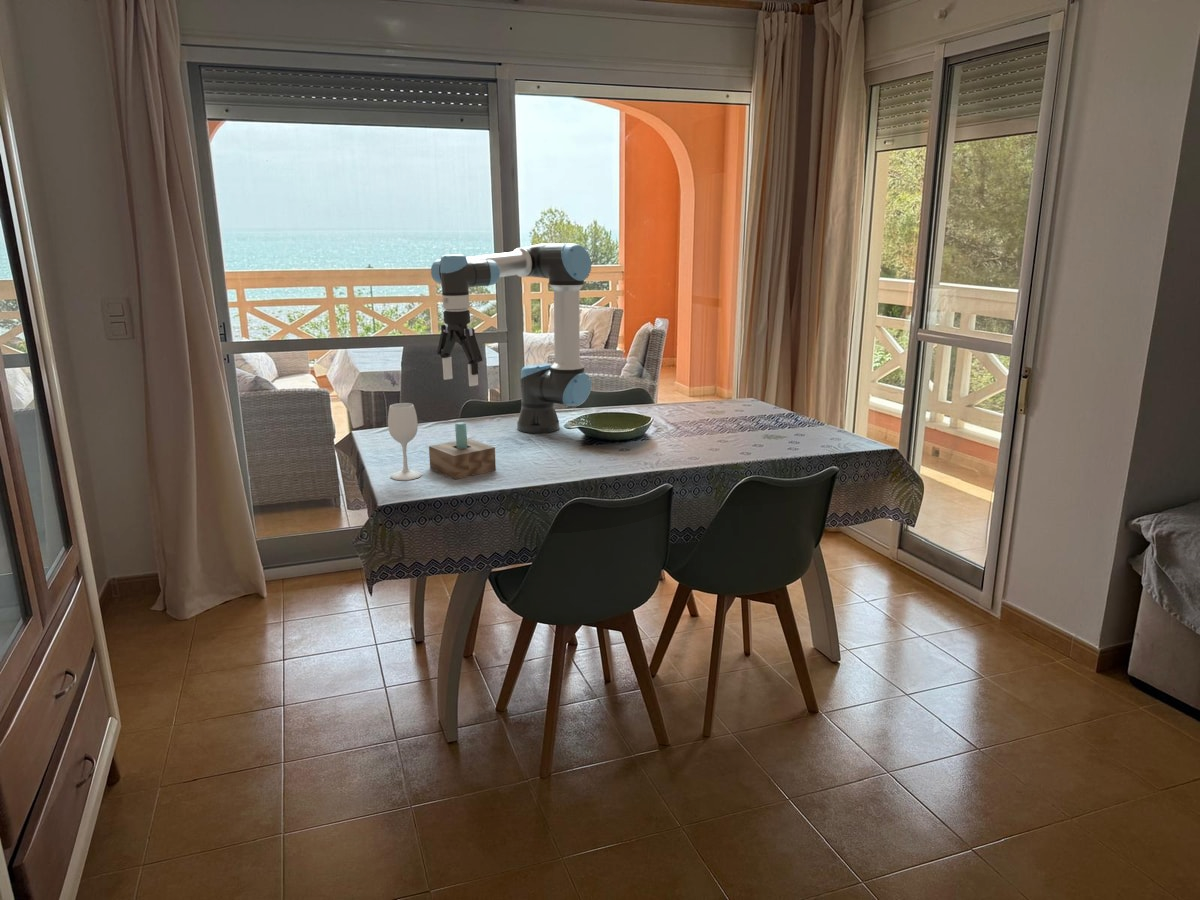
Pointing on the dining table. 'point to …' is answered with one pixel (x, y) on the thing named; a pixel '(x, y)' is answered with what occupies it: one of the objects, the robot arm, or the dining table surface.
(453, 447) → the socket block
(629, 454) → the dining table surface
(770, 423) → the dining table surface
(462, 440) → the dowel
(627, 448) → the dining table surface
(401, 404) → the wineglass
